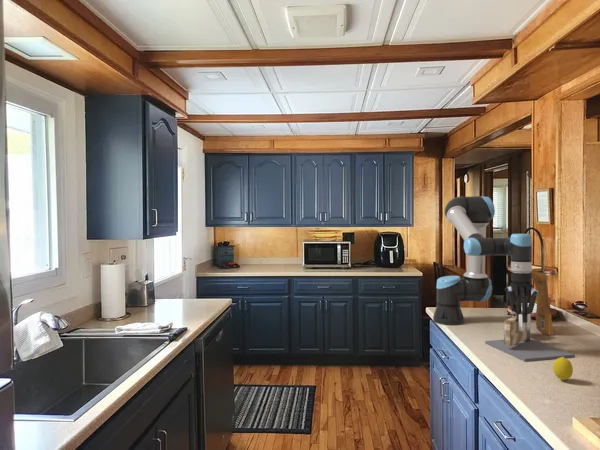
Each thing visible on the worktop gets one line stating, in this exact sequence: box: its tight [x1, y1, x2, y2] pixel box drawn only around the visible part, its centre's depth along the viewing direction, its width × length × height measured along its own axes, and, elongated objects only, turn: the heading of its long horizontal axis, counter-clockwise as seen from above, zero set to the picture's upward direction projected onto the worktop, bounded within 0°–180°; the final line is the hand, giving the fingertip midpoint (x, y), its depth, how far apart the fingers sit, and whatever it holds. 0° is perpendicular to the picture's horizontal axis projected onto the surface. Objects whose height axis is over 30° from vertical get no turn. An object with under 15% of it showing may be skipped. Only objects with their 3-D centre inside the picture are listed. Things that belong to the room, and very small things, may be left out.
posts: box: [503, 313, 531, 344], centre depth 183 cm, size 3×14×13 cm, turn 112°
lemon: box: [552, 357, 574, 382], centre depth 143 cm, size 6×6×8 cm
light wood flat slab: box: [504, 316, 527, 346], centre depth 178 cm, size 16×2×10 cm, turn 130°
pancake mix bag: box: [530, 270, 554, 336], centre depth 204 cm, size 7×19×28 cm, turn 163°
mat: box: [484, 337, 576, 363], centre depth 176 cm, size 24×22×1 cm
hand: (522, 330), depth 174 cm, fingers closed
